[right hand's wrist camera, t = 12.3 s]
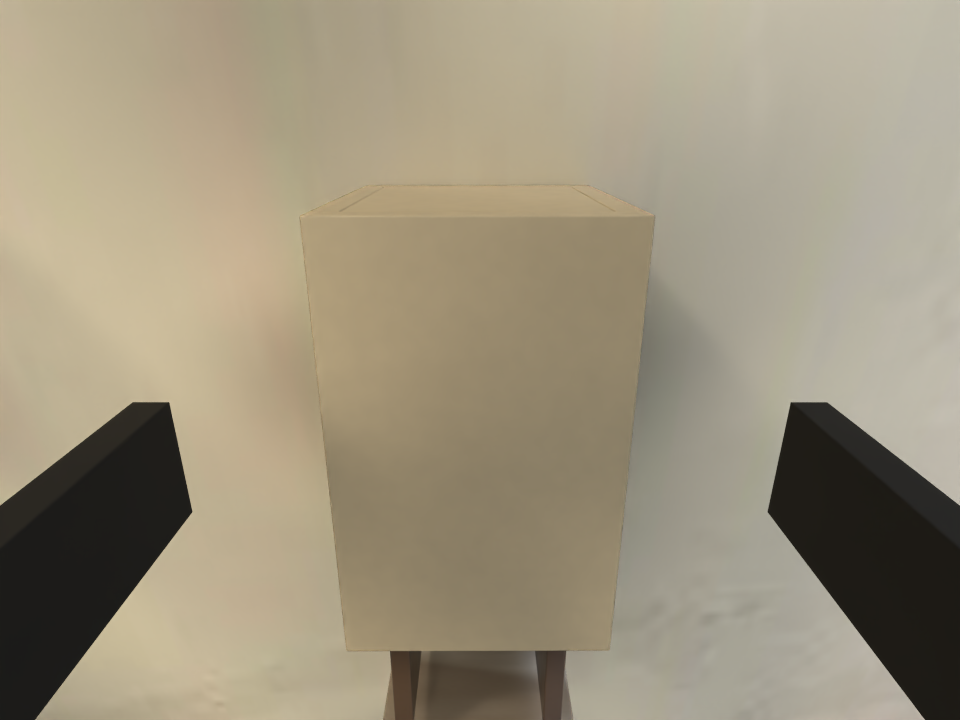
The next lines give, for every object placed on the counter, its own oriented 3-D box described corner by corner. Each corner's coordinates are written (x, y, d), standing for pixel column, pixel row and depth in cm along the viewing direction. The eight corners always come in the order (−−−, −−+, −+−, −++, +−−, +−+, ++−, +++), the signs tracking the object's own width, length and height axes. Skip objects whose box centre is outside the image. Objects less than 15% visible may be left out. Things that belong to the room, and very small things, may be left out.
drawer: (550, 695, 36) (570, 853, 28) (406, 695, 36) (386, 853, 28) (568, 385, 29) (602, 482, 21) (387, 385, 29) (352, 482, 21)
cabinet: (569, 494, 32) (610, 651, 22) (386, 494, 32) (346, 652, 22) (589, 185, 26) (655, 215, 16) (365, 185, 26) (298, 215, 16)
